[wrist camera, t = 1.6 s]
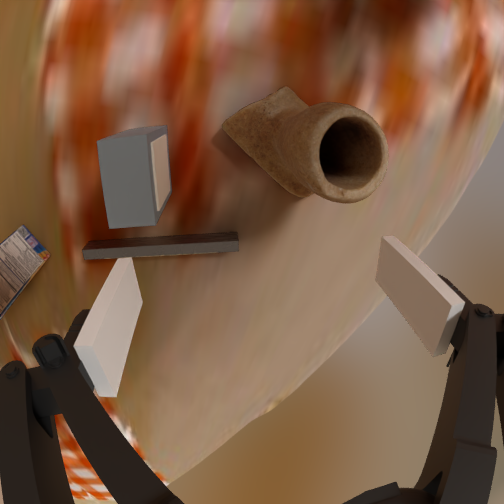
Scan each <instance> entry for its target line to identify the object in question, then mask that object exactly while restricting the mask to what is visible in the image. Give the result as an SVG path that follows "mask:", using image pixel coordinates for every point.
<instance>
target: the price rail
mask: <svg viewBox="0 0 504 504" xmlns="http://www.w3.org/2000/svg"><path fill="white" fill-rule="evenodd" d="M236 251H239V244H238V235H237V232H229V233H210V234H192V235H175V236H159V237H143V238H128V239H113V240H99V241H89V242H88V243H87V244H86V246H85V247H84V248H83V250H82V252H83V256H84V260H88V259H111V258H129V257H148V256H166V255H185V254H204V253H217V252H236Z"/></svg>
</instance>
